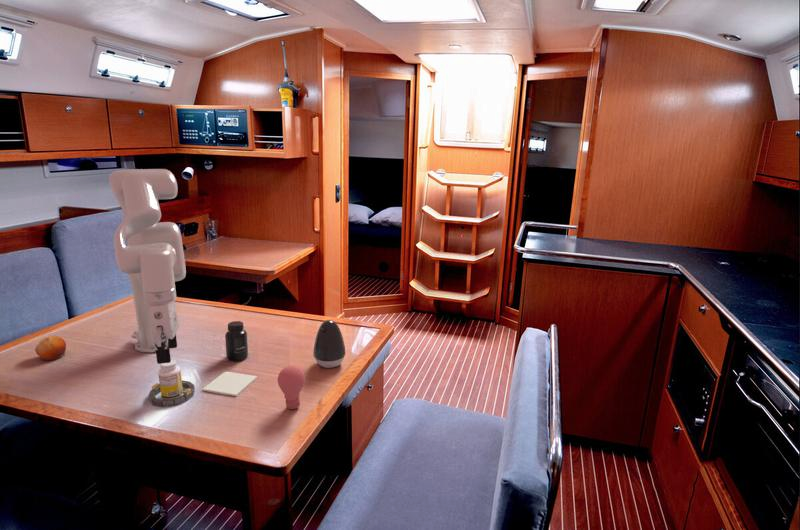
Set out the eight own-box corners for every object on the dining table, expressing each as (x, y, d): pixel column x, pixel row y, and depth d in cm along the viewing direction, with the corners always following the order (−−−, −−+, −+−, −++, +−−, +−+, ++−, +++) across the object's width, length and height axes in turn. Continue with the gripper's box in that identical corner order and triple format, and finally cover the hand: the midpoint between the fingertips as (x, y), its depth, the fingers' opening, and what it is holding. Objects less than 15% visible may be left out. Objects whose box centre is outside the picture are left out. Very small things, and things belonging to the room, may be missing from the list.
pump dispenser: (307, 368, 149) (306, 324, 145) (323, 355, 158) (322, 312, 154) (336, 374, 145) (335, 329, 141) (350, 360, 155) (350, 317, 151)
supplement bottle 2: (241, 363, 151) (239, 328, 148) (222, 360, 152) (219, 326, 149) (252, 353, 158) (250, 320, 155) (233, 351, 159) (231, 318, 156)
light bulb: (281, 400, 130) (279, 361, 127) (307, 399, 131) (305, 360, 128) (277, 415, 124) (274, 374, 120) (304, 414, 124) (302, 373, 121)
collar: (139, 403, 128) (138, 395, 127) (169, 382, 138) (168, 375, 138) (175, 409, 125) (174, 401, 124) (202, 388, 136) (202, 380, 135)
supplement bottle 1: (172, 388, 135) (169, 356, 132) (187, 392, 133) (184, 360, 131) (156, 398, 130) (152, 365, 127) (171, 402, 128) (167, 368, 125)
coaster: (202, 390, 134) (202, 388, 134) (225, 373, 145) (225, 371, 145) (236, 396, 132) (236, 394, 132) (257, 378, 142) (257, 376, 142)
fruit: (76, 351, 154) (58, 335, 149) (53, 369, 150) (34, 354, 145) (70, 344, 159) (51, 328, 154) (48, 361, 155) (28, 346, 150)
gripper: (169, 304, 117) (177, 367, 121) (181, 285, 133) (187, 341, 137) (136, 307, 115) (145, 370, 119) (152, 287, 131) (159, 344, 135)
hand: (167, 355), depth 128 cm, fingers open, 9 cm apart
